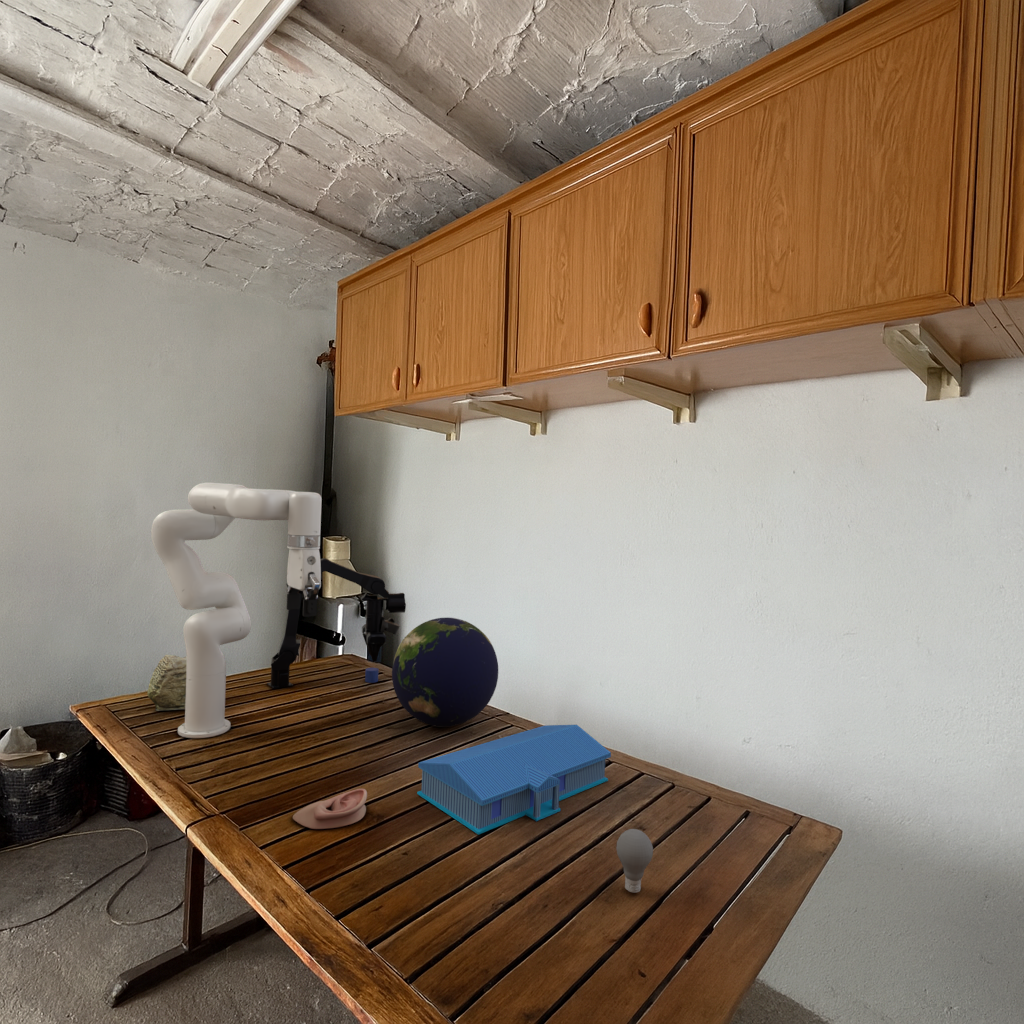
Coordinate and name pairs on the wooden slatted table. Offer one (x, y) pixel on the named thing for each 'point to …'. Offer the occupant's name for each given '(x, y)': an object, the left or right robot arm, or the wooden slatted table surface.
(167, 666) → the fossil
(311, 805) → the anatomical model
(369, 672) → the canister
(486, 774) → the model building
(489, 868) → the wooden slatted table surface
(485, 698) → the globe
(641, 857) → the light bulb
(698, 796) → the wooden slatted table surface
